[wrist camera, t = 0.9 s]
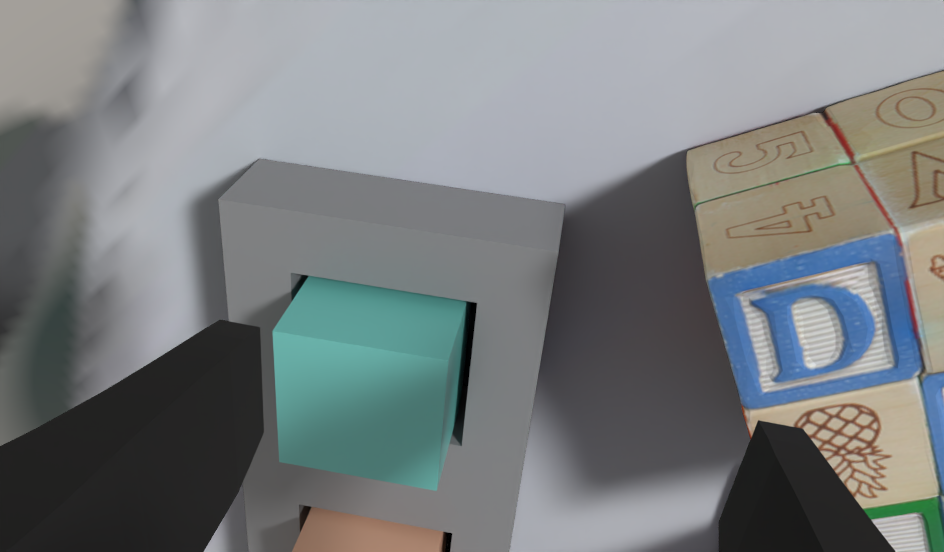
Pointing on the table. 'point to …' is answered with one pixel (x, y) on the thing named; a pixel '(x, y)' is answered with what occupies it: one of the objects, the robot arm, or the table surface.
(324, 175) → the button panel
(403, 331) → the teal button
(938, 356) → the stack of blocks
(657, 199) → the table surface
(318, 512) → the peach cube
